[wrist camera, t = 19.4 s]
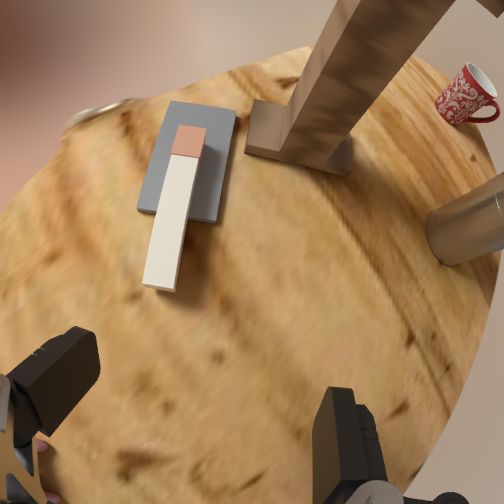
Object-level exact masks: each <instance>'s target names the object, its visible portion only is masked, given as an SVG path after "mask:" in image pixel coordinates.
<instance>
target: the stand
mask: <svg viewBox="0 0 504 504" xmlns="http://www.w3.org/2000/svg"><path fill="white" fill-rule="evenodd" d="M477 1H478V2H479V3H480V4H481V5H483V6H484V7H485V8H486V9H487V10H489V11H490V12H491V13H492V14H493V15H494V16H495V17H496V18H498V17H499V16H500V15H501V13H503V11H504V0H477ZM454 2H455V0H337V2H336V5H335V7H334V9H333V11H332V13H331V14H330V17H329V19H328V21H327V23H326V25H325V27H324V29H323V31H322V33H321V35H320V37H319V39H318V41H317V43H316V45H315V47H314V49H313V51H312V53H311V56H310V58H309V60H308V62H307V64H306V66H305V68H304V70H303V72H302V75H301V77H300V79H299V81H298V83H297V85H296V87H295V89H294V92H293V94H292V96H291V98H290V100H289V102H288V105H287V106H283V105H279V104H275V103H270V102H266V101H262V100H257V99H254V102H253V105H252V109H251V115H250V121H249V127H248V133H247V139H246V145H245V151H244V153H246V154H251V155H256V156H261V157H265V158H270V159H274V160H279V161H283V162H288V163H292V164H296V165H300V166H305V167H309V168H313V169H316V170H320V171H324V172H328V173H332V174H335V175H339V176H343V177H346V176H347V175H348V174H349V173H350V172H351V171H352V157H351V141H350V131H351V129H352V128H353V127H354V126H355V124H356V123H357V122H358V121H359V119H360V118H361V117H362V116H363V114H364V113H365V112H366V111H367V109H368V108H369V107H370V106H371V105H372V103H373V102H374V101H375V100H376V98H377V97H378V96H379V95H380V93H381V92H382V91H383V90H384V88H385V87H386V86H387V85H388V83H389V82H390V81H391V80H392V78H393V77H394V76H395V75H396V74H397V72H398V71H399V70H400V69H401V67H402V66H403V65H404V64H405V62H406V61H407V60H408V59H409V57H410V56H411V55H412V54H413V52H414V51H415V50H416V49H417V47H418V46H419V45H420V44H421V43H422V41H423V40H424V39H425V38H426V36H427V35H428V34H429V32H430V31H431V30H432V29H433V28H434V26H435V25H436V24H437V23H438V21H439V20H440V19H441V18H442V16H443V15H444V14H445V13H446V12H447V10H448V9H449V7H451V5H452V4H453V3H454Z"/></svg>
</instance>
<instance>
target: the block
mask: <svg viewBox="0 0 504 504" xmlns="http://www.w3.org/2000/svg"><path fill="white" fill-rule="evenodd" d="M206 130H207V128H200V127H194V126H187V125H179V127H178V130H177V133H176V137H175V140H174V143H173V147H172V150H171V158H170V162H169V165H168V169H167V173H166V176H165V180H164V184H163V188H162V192H161V196H160V200H159V204H158V208H157V213H156V217H155V221H154V226H153V231H152V235H151V240H150V245H149V250H148V255H147V260H146V265H145V271H144V276H143V282H142V284H143V285H145V286H146V287H147V288H153V289H158V290H164V291H170V292H175V290H176V283H177V277H178V271H179V265H180V259H181V253H182V248H183V242H184V237H185V231H186V226H187V221H188V216H189V211H190V206H191V201H192V196H193V191H194V186H195V182H196V177H197V173H198V171H199V168H200V163H201V159H202V154H203V150H204V146H205V139H206Z"/></svg>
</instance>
